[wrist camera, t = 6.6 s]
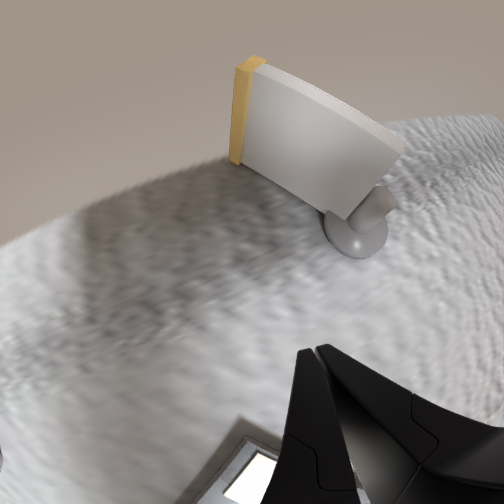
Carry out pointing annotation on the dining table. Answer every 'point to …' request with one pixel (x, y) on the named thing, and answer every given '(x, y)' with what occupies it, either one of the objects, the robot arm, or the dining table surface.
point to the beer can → (0, 462)
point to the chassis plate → (246, 476)
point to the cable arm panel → (315, 152)
